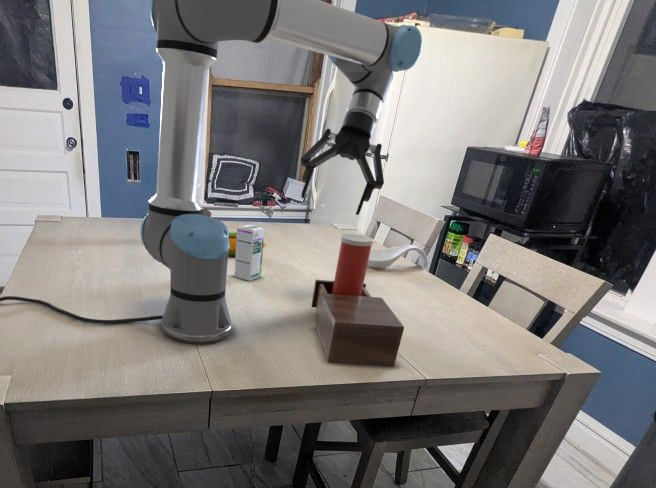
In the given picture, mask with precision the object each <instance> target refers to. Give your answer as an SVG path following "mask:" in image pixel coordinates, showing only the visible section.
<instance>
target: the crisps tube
mask: <svg viewBox="0 0 656 488" xmlns="http://www.w3.org/2000/svg"><path fill="white" fill-rule="evenodd" d="M373 244H374V239H373V238H372V237H370V236H367V235H363V234H355V233H345V234H341V238H340V247H339V253H338V258H337V264H336V269H335V275H334V280H333V281H334V285H333V291H332V294H337V295H351V296H361V293H362V288H363V284H364V283H365V279H366V274H367V269H368V260H369V255H370V251H371V250H372V246H373Z"/></svg>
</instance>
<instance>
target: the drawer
mask: <svg viewBox="0 0 656 488" xmlns="http://www.w3.org/2000/svg"><path fill="white" fill-rule="evenodd" d="M333 285H334V280H325V279H315V281H314V286H313V291H312V298H311V299H312V300H311V304H310V305H311V308H315V310H316V313H317V314H318V312H319V306H320V300H321V295H322V293H323V294H332V291H333ZM366 287H367V284H366V283H365V282H364V284H363V288H362V293H361V296H365V297H372V295H371V294H370V293H369V291H368V290H367V289H366Z"/></svg>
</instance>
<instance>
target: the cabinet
mask: <svg viewBox="0 0 656 488" xmlns="http://www.w3.org/2000/svg"><path fill="white" fill-rule="evenodd" d="M404 330H405V326H404V324H403V323H402V322H401V320H400V319H399V318H398V317H397V315H396V314H395V313H394V311H393V310H392V309H391V308H390V307H389V305H388V303H387V302H386V301H385V300H384V299H383V298H382V297H378V296H376V297H375V296H371V297H365V296H351V295H337V294H323V293H322V295H321V300H320V306H319V312H318V313H317V320H316V325H315V331H316V333H317V336H318V339H319V341H320V344H321V347H322V350H323V352H324V356H325V358H326V361H327V362H328V363H329V362H330V363H345V364H358V365H373V366H374V365H376V366H388V367H389V366H391V367H394V366H395V365H396V360H397V356H398V352H399V350H400V349H399V348H400V345H401V342H402V338H403V334H404Z"/></svg>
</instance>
